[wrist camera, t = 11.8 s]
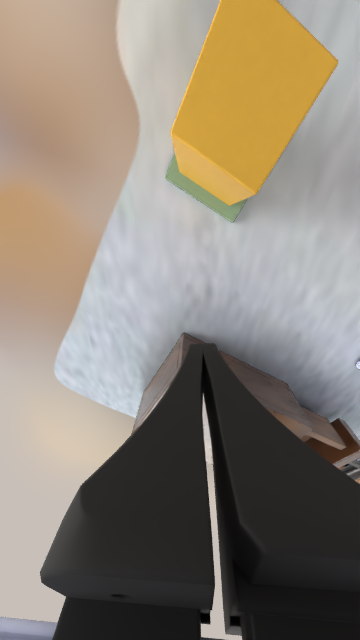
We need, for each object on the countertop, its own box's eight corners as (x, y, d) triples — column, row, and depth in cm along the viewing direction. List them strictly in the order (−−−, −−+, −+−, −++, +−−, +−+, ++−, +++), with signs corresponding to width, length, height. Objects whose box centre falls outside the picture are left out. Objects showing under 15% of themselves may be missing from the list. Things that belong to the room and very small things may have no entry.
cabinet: (287, 384, 23) (314, 429, 18) (232, 429, 27) (241, 475, 22) (183, 332, 20) (181, 368, 15) (142, 393, 25) (130, 435, 20)
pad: (286, 133, 12) (289, 130, 12) (231, 222, 15) (233, 222, 14) (209, 70, 11) (210, 65, 11) (165, 178, 14) (164, 177, 13)
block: (269, 137, 12) (340, 60, 6) (229, 206, 14) (256, 195, 8) (213, 92, 11) (235, -43, 6) (178, 171, 13) (169, 132, 7)
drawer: (369, 432, 25) (397, 466, 21) (310, 464, 29) (326, 496, 26) (262, 380, 21) (275, 410, 18) (213, 425, 26) (217, 455, 22)
